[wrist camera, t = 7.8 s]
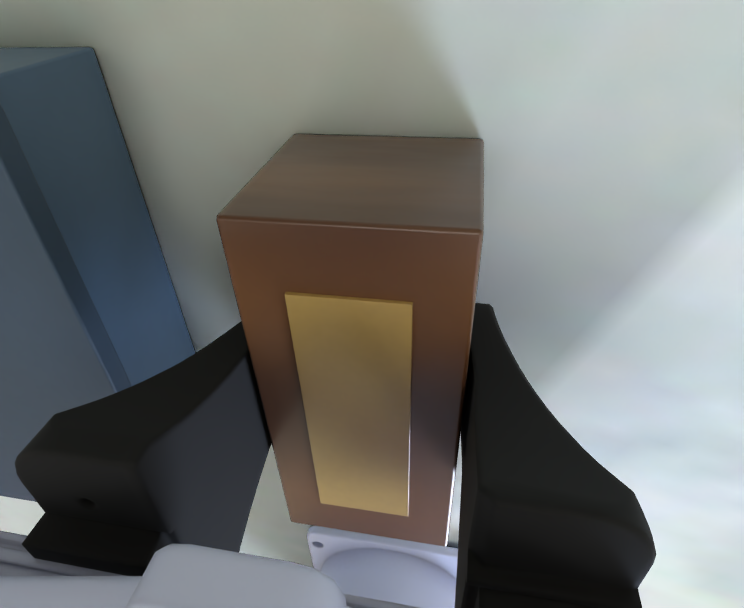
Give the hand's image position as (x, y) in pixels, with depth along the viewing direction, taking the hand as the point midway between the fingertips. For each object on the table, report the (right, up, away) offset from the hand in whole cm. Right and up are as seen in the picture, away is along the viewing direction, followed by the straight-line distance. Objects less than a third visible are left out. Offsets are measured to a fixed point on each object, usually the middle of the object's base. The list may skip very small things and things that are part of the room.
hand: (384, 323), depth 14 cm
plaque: (0, +1, +1) cm, 1 cm away
